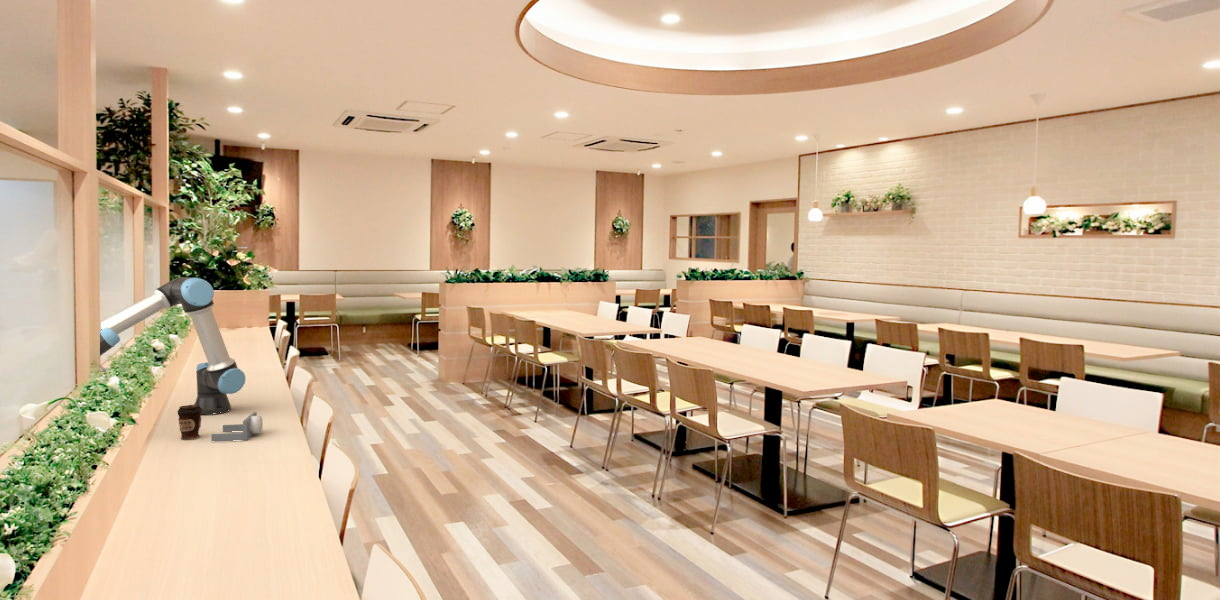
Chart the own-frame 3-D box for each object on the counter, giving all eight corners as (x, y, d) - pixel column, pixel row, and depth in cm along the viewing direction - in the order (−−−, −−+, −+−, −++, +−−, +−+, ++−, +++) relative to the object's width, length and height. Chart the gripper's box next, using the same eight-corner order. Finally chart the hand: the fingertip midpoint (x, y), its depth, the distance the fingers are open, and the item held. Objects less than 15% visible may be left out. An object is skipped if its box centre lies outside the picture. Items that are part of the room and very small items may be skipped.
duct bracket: (223, 432, 295) (223, 413, 294) (265, 430, 298) (264, 411, 298) (211, 442, 280) (210, 422, 279) (255, 440, 283) (255, 420, 283)
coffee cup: (194, 441, 281) (193, 408, 280) (173, 440, 281) (172, 408, 280) (207, 435, 289) (206, 403, 288) (186, 435, 290) (185, 403, 289)
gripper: (99, 381, 282) (147, 421, 287) (82, 387, 269) (132, 429, 274) (113, 367, 283) (161, 408, 287) (97, 373, 270) (147, 415, 275)
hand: (147, 418), depth 281 cm, fingers closed
